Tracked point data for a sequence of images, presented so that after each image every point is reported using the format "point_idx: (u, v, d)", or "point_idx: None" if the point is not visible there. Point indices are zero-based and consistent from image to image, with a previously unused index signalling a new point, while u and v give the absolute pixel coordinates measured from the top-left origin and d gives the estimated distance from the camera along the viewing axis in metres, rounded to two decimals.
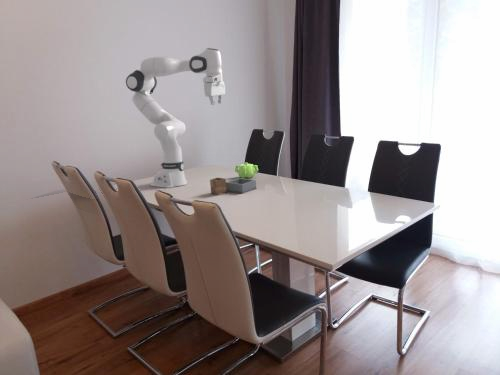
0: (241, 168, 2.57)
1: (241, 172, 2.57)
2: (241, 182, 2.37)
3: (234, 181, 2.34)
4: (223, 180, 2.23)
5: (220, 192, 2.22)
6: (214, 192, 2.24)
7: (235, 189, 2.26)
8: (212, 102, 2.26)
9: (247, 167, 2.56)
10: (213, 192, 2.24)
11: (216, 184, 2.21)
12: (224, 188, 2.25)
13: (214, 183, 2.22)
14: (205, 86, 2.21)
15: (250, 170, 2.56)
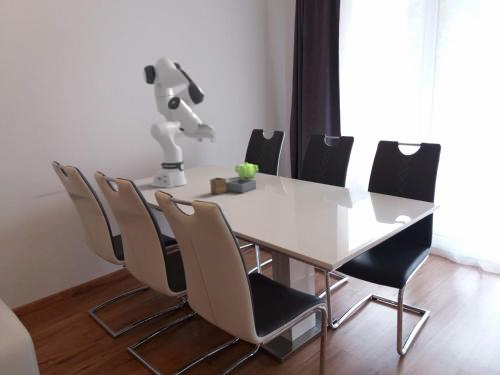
0: (241, 168, 2.57)
1: (241, 172, 2.57)
2: (241, 182, 2.37)
3: (234, 181, 2.34)
4: (223, 180, 2.23)
5: (220, 192, 2.22)
6: (214, 192, 2.24)
7: (235, 189, 2.26)
8: None
9: (247, 167, 2.56)
10: (213, 192, 2.24)
11: (216, 184, 2.21)
12: (224, 188, 2.25)
13: (214, 183, 2.22)
14: None
15: (250, 170, 2.56)
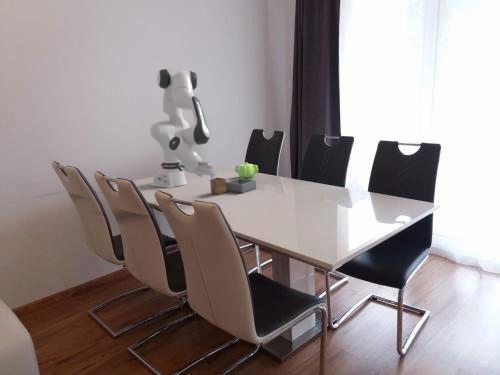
0: (241, 168, 2.57)
1: (241, 172, 2.57)
2: (241, 182, 2.37)
3: (234, 181, 2.34)
4: (223, 180, 2.23)
5: (220, 192, 2.22)
6: (214, 192, 2.24)
7: (235, 189, 2.26)
8: None
9: (247, 167, 2.56)
10: (213, 192, 2.24)
11: (216, 184, 2.21)
12: (224, 188, 2.25)
13: (214, 183, 2.22)
14: None
15: (250, 170, 2.56)
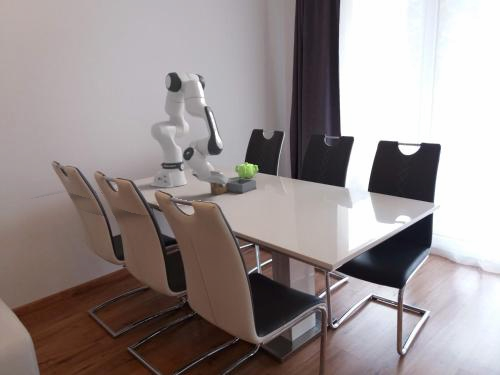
0: (241, 168, 2.57)
1: (241, 172, 2.57)
2: (241, 182, 2.37)
3: (234, 181, 2.34)
4: None
5: (220, 192, 2.22)
6: (214, 192, 2.24)
7: (235, 189, 2.26)
8: None
9: (247, 167, 2.56)
10: (213, 192, 2.24)
11: (216, 184, 2.21)
12: (224, 188, 2.25)
13: (214, 183, 2.22)
14: None
15: (250, 170, 2.56)
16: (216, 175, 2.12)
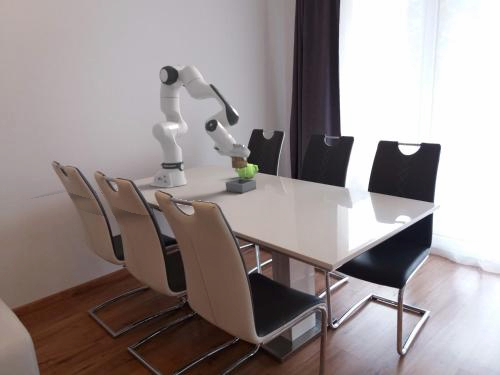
0: None
1: (241, 172, 2.57)
2: (241, 182, 2.37)
3: (234, 181, 2.34)
4: None
5: (241, 166, 2.24)
6: (235, 166, 2.25)
7: (235, 189, 2.26)
8: None
9: (247, 167, 2.56)
10: (234, 166, 2.26)
11: (238, 158, 2.23)
12: (245, 162, 2.27)
13: (235, 157, 2.24)
14: None
15: (250, 170, 2.56)
16: (238, 148, 2.14)
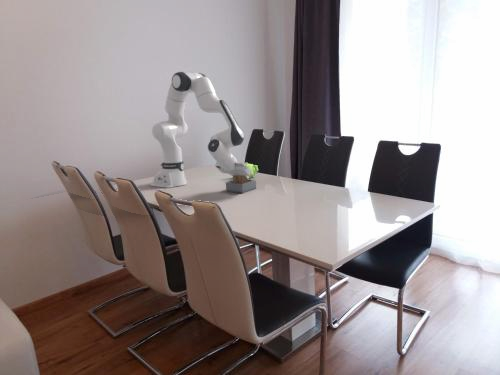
0: None
1: None
2: None
3: None
4: None
5: None
6: None
7: (235, 189, 2.26)
8: None
9: None
10: None
11: (239, 179, 2.26)
12: None
13: (237, 178, 2.27)
14: None
15: None
16: (240, 167, 2.17)
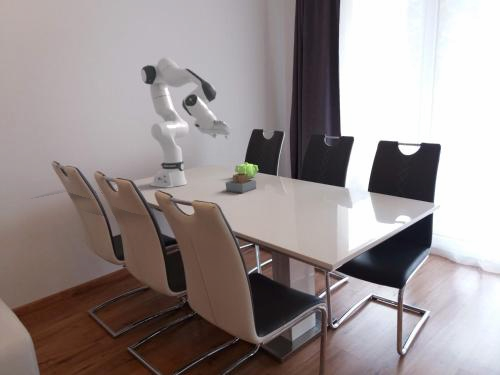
0: (241, 168, 2.57)
1: (241, 172, 2.57)
2: None
3: None
4: (245, 175, 2.28)
5: None
6: None
7: (235, 189, 2.26)
8: None
9: (247, 167, 2.56)
10: None
11: (239, 179, 2.26)
12: None
13: (237, 178, 2.27)
14: None
15: (250, 170, 2.56)
16: (219, 124, 2.08)
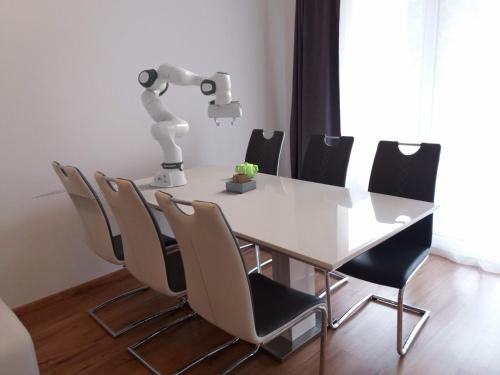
0: (241, 168, 2.57)
1: (241, 172, 2.57)
2: None
3: None
4: (245, 175, 2.28)
5: None
6: None
7: (235, 189, 2.26)
8: None
9: (247, 167, 2.56)
10: None
11: (239, 179, 2.26)
12: None
13: (237, 178, 2.27)
14: None
15: (250, 170, 2.56)
16: (235, 104, 2.32)
